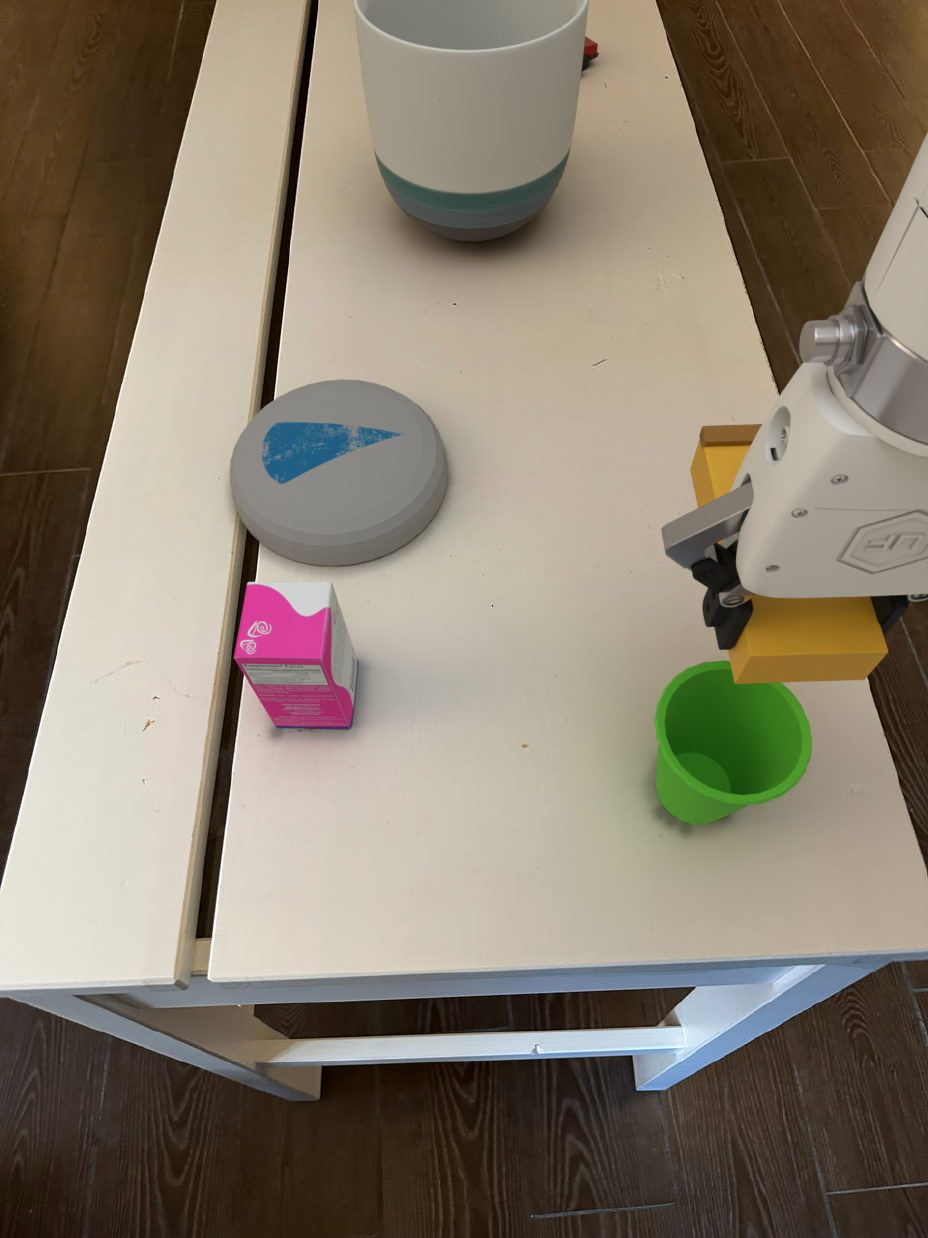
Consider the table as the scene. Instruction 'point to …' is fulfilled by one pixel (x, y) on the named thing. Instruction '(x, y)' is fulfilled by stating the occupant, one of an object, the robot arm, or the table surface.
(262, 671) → the supplement box
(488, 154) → the planter
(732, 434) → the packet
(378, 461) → the grey frisbee
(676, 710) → the cup
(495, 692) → the table surface
